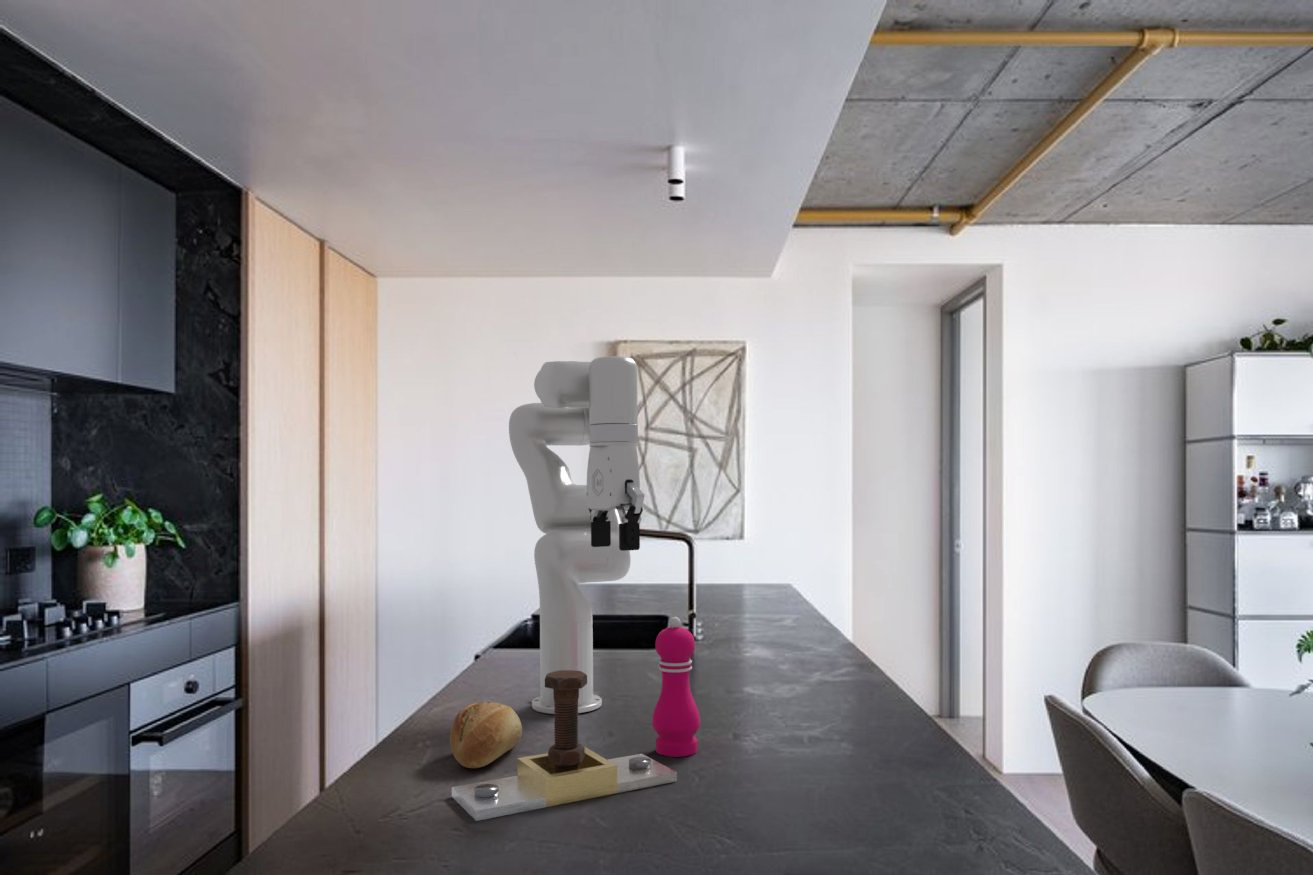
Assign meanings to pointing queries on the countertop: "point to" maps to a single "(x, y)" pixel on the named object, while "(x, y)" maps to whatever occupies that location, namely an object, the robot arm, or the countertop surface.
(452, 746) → the bread roll
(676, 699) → the pepper mill
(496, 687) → the countertop surface
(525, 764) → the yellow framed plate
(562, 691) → the bolt
